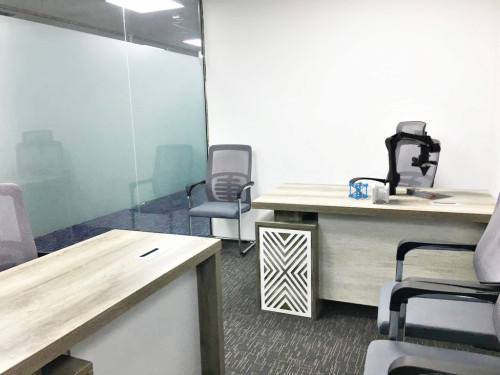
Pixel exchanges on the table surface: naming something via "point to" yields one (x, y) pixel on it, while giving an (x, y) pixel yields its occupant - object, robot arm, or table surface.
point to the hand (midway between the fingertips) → (423, 176)
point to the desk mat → (439, 196)
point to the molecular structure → (358, 190)
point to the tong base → (417, 193)
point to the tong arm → (429, 193)
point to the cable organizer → (380, 192)
